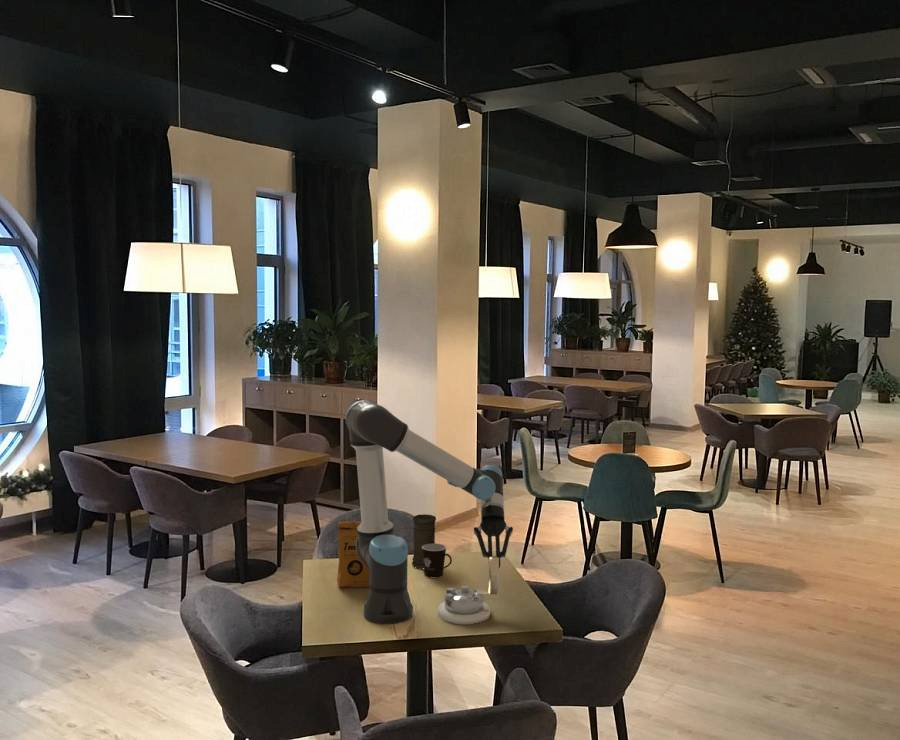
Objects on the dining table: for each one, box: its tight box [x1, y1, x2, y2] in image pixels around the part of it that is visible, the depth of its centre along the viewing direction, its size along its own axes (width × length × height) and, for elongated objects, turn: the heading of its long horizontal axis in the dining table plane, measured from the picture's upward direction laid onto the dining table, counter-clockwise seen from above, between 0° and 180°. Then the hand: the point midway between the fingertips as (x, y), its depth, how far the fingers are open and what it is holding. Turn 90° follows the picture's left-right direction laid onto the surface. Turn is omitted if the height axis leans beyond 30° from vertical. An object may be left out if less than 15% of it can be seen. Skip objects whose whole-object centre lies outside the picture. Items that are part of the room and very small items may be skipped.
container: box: [411, 514, 437, 569], centre depth 299 cm, size 9×9×18 cm
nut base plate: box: [437, 601, 491, 625], centre depth 254 cm, size 16×16×2 cm
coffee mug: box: [422, 543, 453, 578], centre depth 288 cm, size 12×9×10 cm
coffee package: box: [336, 521, 370, 588], centre depth 278 cm, size 10×12×22 cm
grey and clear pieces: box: [444, 555, 500, 615], centre depth 253 cm, size 16×12×16 cm
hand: (495, 576), depth 255 cm, fingers closed
